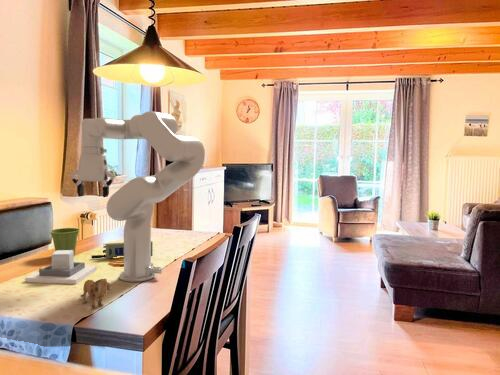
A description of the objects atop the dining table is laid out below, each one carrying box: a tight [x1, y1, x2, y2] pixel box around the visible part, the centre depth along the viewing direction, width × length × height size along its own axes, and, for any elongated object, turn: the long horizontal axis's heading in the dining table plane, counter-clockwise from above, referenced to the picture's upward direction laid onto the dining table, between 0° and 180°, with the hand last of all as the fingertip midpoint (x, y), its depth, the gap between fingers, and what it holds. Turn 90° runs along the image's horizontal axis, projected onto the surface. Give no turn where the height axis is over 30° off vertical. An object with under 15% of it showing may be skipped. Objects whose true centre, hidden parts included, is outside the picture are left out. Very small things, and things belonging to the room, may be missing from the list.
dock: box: [24, 261, 98, 285], centre depth 140 cm, size 18×16×4 cm
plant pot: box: [49, 227, 81, 256], centre depth 166 cm, size 12×12×11 cm
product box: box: [51, 250, 75, 270], centre depth 140 cm, size 6×6×7 cm
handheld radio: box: [91, 240, 153, 260], centre depth 166 cm, size 7×3×25 cm
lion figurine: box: [80, 278, 114, 311], centre depth 115 cm, size 15×5×9 cm, turn 52°
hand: (93, 196), depth 147 cm, fingers open, 9 cm apart
